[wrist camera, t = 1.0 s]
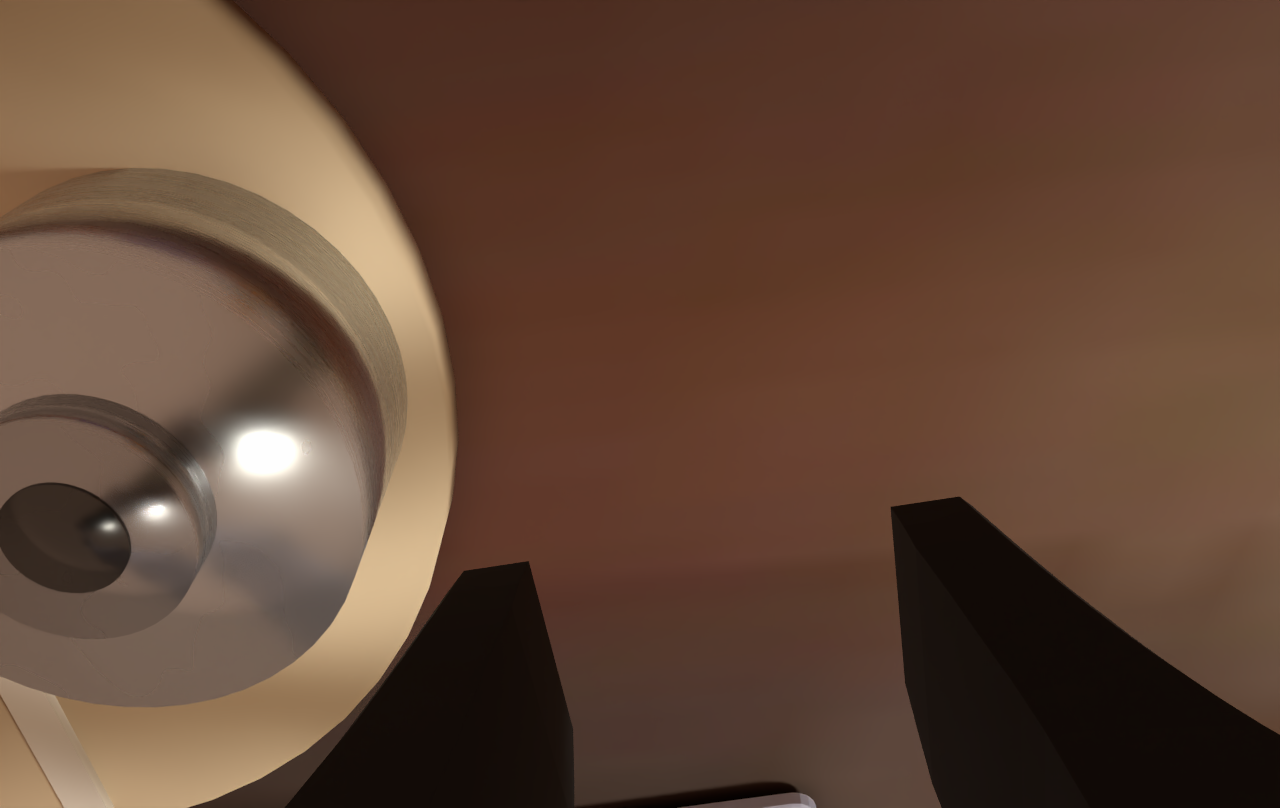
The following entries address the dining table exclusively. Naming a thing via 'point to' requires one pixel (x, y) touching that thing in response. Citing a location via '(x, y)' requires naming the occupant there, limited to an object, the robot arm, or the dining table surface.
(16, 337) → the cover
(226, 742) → the disc
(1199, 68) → the dining table surface
